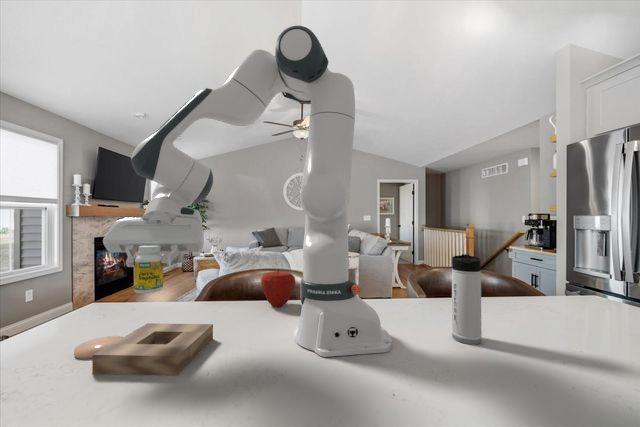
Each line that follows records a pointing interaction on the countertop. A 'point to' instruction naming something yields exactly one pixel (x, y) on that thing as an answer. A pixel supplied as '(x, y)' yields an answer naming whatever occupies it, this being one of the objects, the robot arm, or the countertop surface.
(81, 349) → the peach round disc
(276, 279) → the red tapered strawberry shape
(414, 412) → the countertop surface
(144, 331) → the frame
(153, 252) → the supplement bottle
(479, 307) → the travel mug
